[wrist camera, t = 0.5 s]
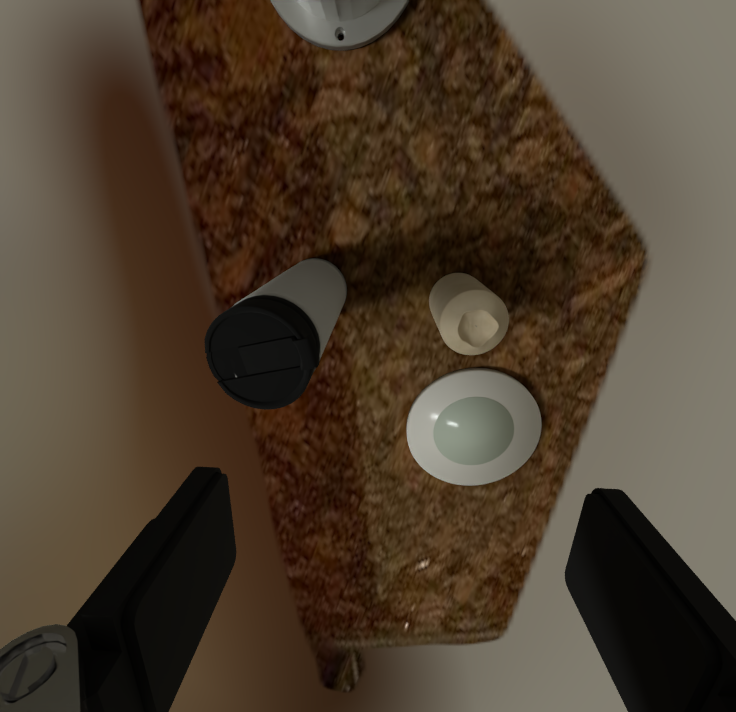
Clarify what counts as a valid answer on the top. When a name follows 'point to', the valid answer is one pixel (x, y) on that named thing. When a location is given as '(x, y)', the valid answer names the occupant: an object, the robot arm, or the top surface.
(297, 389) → the travel mug
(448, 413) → the ceramic plate
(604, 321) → the top surface
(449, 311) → the candle
